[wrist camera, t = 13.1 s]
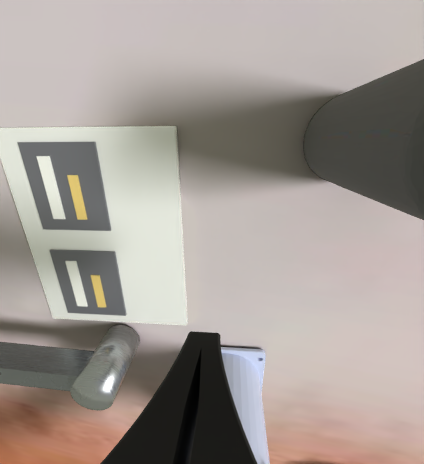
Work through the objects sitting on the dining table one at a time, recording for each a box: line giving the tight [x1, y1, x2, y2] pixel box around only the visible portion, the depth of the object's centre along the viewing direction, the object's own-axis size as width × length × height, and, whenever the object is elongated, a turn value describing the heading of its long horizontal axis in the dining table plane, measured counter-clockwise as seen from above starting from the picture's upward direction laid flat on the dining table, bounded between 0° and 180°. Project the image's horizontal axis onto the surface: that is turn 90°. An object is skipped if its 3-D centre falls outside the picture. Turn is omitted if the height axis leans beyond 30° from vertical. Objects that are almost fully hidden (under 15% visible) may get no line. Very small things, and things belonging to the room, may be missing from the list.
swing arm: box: [0, 325, 140, 410], centre depth 22 cm, size 23×4×6 cm, turn 87°
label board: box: [0, 126, 188, 325], centre depth 20 cm, size 18×14×1 cm
